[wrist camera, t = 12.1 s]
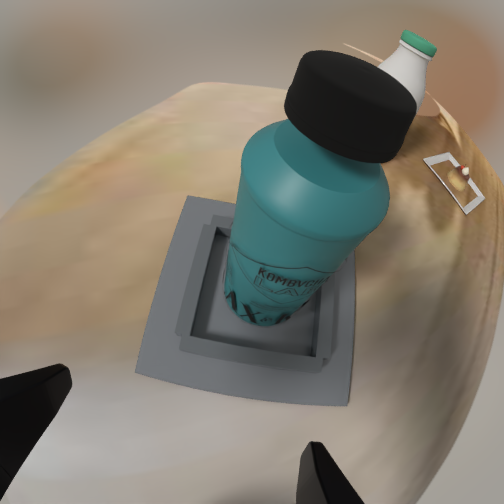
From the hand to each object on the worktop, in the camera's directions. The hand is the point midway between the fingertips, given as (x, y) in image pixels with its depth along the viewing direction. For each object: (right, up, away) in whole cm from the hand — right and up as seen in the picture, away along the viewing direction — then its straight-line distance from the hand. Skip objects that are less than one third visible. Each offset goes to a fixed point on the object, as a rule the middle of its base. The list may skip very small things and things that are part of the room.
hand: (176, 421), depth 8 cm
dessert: (+39, +18, +31) cm, 53 cm away
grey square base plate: (+3, +2, +17) cm, 17 cm away
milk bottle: (+20, +22, +30) cm, 42 cm away
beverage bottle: (+3, +2, +16) cm, 17 cm away
